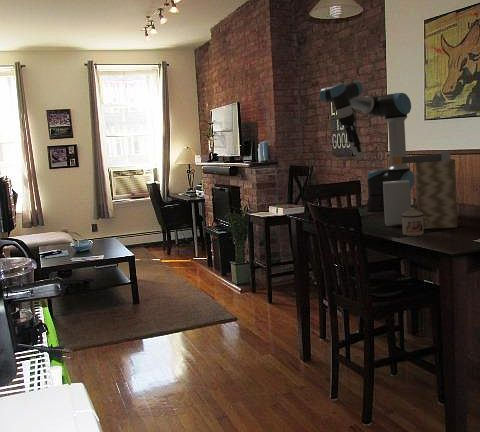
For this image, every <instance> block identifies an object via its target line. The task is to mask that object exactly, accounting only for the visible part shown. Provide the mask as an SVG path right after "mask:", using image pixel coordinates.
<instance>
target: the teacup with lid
mask: <svg viewBox="0 0 480 432" xmlns="http://www.w3.org/2000/svg"><path fill="white" fill-rule="evenodd" d="M401 216H402V224H401V226H402V234H403V236H405V235H407V237H418V236H417V235H419V236H422V234H423V235H424V233H425V232H424V230H425V229H424V228H427V227H428V226H429V225H430V218H428V217H423V213H422V212H419V211H417V209H415V207H411V208H410V210H408V211H407V212H405V213H403V214H402V215H401ZM424 218H427V219H428V224H427V225H426V226H424V227H423V219H424Z"/></svg>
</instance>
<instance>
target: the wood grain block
mask: <svg viewBox="0 0 480 432" xmlns="http://www.w3.org/2000/svg"><path fill="white" fill-rule="evenodd" d="M414 165H415V167H414V169H415V170H414V171H415V172H414V173H415V190H416V193H415V194H416V210H417V211H419V212H422V213H423V217H428V218H430V225H429V226H428V227H427V228H424V230H425V229H427V230H428V229H445V228H447V229H448V228H458V211H457V210H458V209H457V208H458V206H457V205H458V204H457V179H456V178H457V177H456V176H457V174H456V160H455V159H453V158H450V160H448V161H430V162H417V163H414ZM427 224H428V219H427V218H424V219H423V227H424V226H426V225H427Z"/></svg>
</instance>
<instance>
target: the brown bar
mask: <svg viewBox="0 0 480 432" xmlns="http://www.w3.org/2000/svg"><path fill="white" fill-rule="evenodd" d="M450 159H451V152H450V150H439V151H438V153H431V154H420V155H419V154H418V155H406V156H404V157H402V156H401V157H393V164H404V163H406V164H415V163H417V162H430V161H448V160H450Z"/></svg>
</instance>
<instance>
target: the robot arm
mask: <svg viewBox="0 0 480 432" xmlns="http://www.w3.org/2000/svg"><path fill="white" fill-rule="evenodd" d="M363 91H364V87H363V85H362V83H361V82H359V81H352V82H350V83H344V82H342V83H341V82H340V83H339V84H336V85H335V84H334V85H333V86H326V87H323V88H321V89H320V91H319V96H318V97H319V99H320V101H321V102H322V103H325V104H326V103H327V104H329V103H333V105H334V108H335V113H336V116H337V118H338V121H339V125H340V126H344V129H345V133H346V138H347V141H348V143H349V146H350V150H351V152H352V154H353V156H355V155H357V158H358V160H360V159H361V160H362V159H364V158H365V155H364V153H363V150H362V146H361V144H362V143H361V141H360V139H359V135H358V133H357V131H356V128H355V125H353V124H352V123H355V122H356V118H355V114H354V112H353V109H355V110H359V111H360V112H361V113H363V114H365V115H370V116H374V117H381V118H382V117H384V120H385V121H386V122H387V126H388V127H387V129H388V130H387V131H388V142H389V144H388V145H389V147H388V148H389V163H390V164H389V165H390V166H389V167H388V168H385V169H379V170H373V171H368V173H367V176H366V177H367V178H366V181H367V195H368V198H367V202H366V205H365V211H367V212H373V213H375V212H376V213H377V212H378V213H379V212H384V194H383V182H388V181H402V180H409V182H410V191H411V190H412V188H413V187H414V184H415V181H416V176H415V174H414V172H413V171H412V170H410V166H409V165H408V163H404V164H393V157H401V156H402V157H404V156H407V149H406V148H407V147H406V129H405V127H406V126H405V125H406V124H405V121H406V120H407V118H408V114H410V113H411V109H412V102H411V99H410V97H409V96H408V94H406V93H404V92H395V93H389V94H388V93H387V94H383V95H376V96H370V95H366V96H364V95H362V94H363Z"/></svg>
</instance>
